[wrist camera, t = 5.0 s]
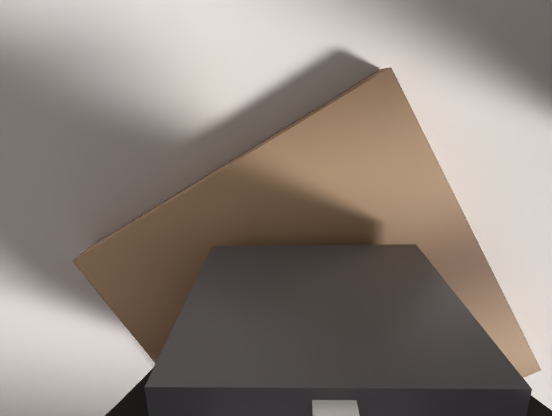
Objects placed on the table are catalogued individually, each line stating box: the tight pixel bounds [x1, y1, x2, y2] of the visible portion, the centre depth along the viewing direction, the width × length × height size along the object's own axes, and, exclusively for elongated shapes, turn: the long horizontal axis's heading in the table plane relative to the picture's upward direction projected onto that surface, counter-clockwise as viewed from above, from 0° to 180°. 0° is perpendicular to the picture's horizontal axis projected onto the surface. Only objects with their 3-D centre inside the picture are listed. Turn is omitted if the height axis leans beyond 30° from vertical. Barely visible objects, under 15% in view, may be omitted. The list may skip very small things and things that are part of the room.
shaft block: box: [73, 67, 541, 378], centre depth 10 cm, size 10×10×4 cm
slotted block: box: [145, 244, 532, 416], centre depth 8 cm, size 5×5×6 cm
